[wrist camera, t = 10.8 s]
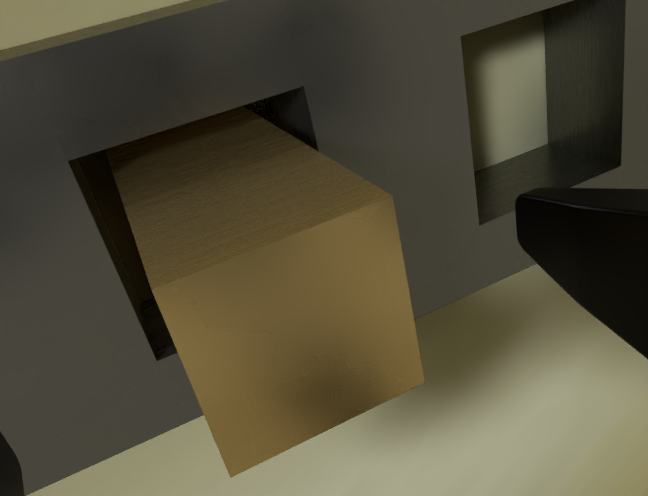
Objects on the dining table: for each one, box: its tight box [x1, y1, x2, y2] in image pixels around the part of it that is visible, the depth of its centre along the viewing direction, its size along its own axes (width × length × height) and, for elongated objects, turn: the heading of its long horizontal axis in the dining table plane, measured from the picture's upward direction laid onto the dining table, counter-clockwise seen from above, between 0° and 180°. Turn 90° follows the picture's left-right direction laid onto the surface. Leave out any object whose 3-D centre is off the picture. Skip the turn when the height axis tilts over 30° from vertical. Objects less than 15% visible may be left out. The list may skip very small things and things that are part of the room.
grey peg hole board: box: [0, 0, 648, 496], centre depth 14 cm, size 30×9×3 cm, turn 103°
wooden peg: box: [105, 106, 425, 477], centre depth 12 cm, size 4×4×8 cm
